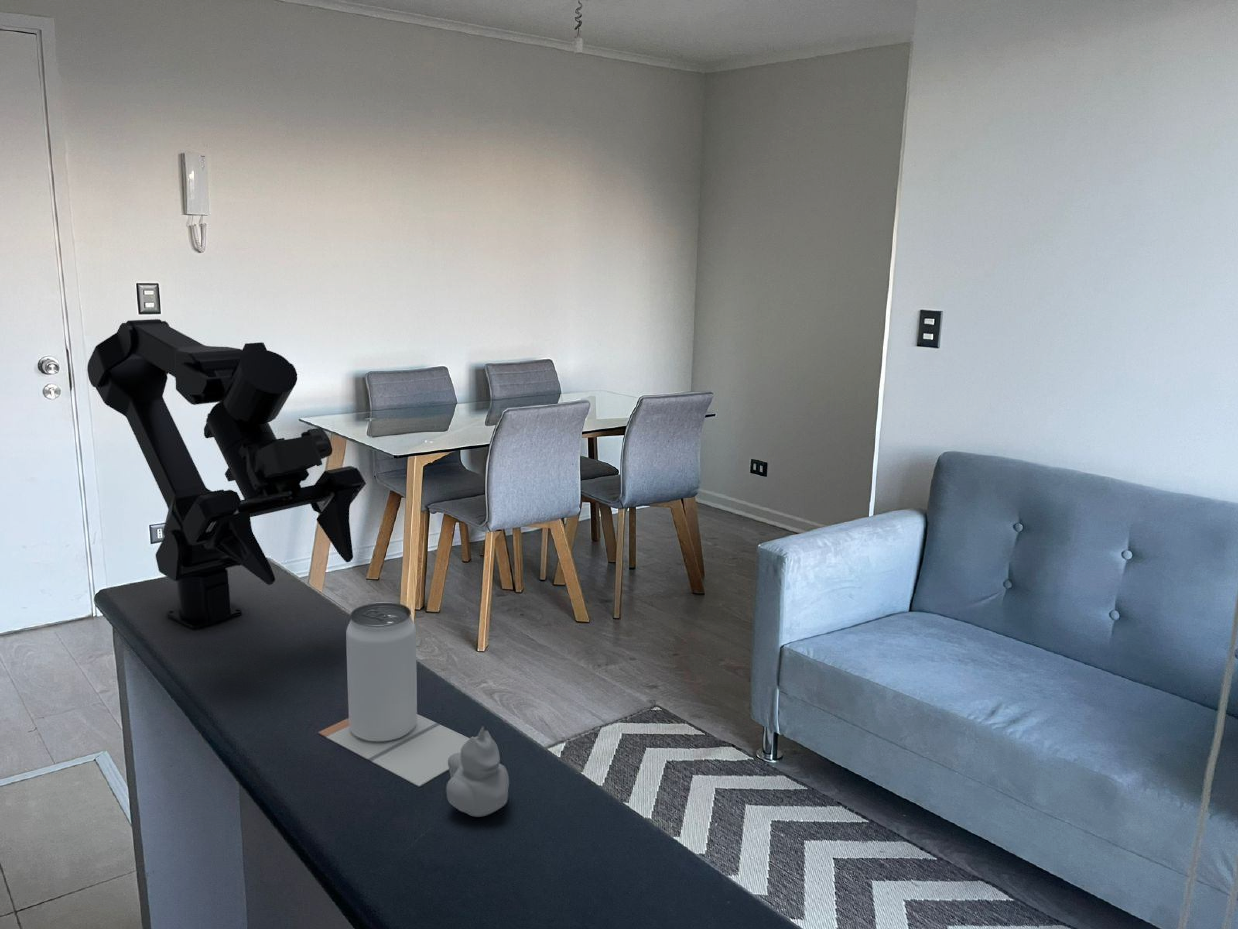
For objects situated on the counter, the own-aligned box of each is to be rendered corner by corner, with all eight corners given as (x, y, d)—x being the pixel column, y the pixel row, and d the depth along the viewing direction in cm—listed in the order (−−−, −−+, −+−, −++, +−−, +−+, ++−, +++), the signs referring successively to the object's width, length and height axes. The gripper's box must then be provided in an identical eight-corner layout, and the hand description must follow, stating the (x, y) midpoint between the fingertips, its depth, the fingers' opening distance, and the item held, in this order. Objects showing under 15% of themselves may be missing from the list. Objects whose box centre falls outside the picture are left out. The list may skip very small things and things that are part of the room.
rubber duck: (475, 837, 78) (475, 749, 76) (426, 803, 82) (425, 718, 80) (525, 809, 82) (526, 725, 80) (476, 778, 86) (476, 697, 84)
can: (384, 752, 89) (381, 633, 86) (334, 731, 92) (330, 616, 89) (430, 722, 95) (429, 610, 92) (382, 704, 98) (379, 595, 95)
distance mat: (318, 733, 92) (318, 732, 92) (387, 701, 99) (387, 699, 99) (419, 786, 84) (419, 785, 84) (486, 747, 91) (486, 746, 91)
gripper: (188, 416, 91) (256, 555, 87) (354, 394, 105) (418, 513, 101) (155, 478, 98) (217, 610, 94) (315, 450, 112) (374, 563, 108)
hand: (312, 571), depth 99 cm, fingers open, 9 cm apart
